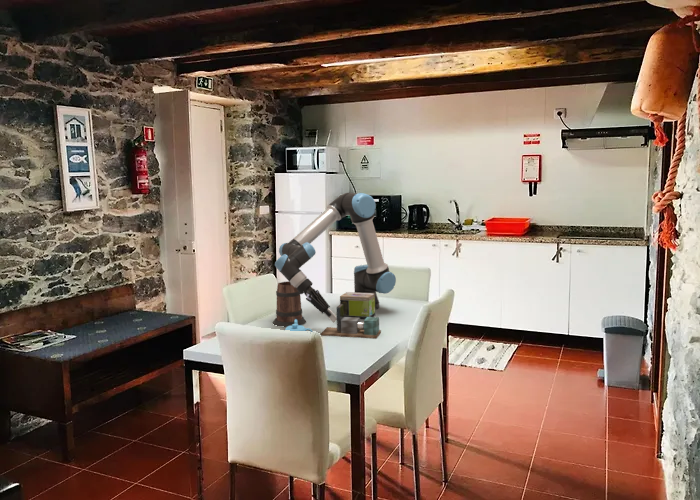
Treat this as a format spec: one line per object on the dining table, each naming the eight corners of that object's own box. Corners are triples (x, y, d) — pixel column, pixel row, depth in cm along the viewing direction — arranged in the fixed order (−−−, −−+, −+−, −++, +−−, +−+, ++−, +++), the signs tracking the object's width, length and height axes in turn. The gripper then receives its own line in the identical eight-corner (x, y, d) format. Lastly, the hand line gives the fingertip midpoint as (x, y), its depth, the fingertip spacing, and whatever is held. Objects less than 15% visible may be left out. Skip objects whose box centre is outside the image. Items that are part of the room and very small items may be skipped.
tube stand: (320, 335, 270) (320, 319, 269) (327, 329, 280) (326, 313, 279) (376, 338, 264) (376, 322, 263) (380, 332, 274) (380, 316, 272)
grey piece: (337, 330, 270) (336, 307, 269) (340, 327, 276) (340, 304, 274) (372, 332, 266) (372, 309, 264) (375, 328, 272) (375, 305, 270)
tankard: (307, 326, 286) (305, 285, 282) (271, 328, 284) (270, 287, 281) (305, 313, 309) (304, 276, 306) (273, 315, 307) (271, 277, 304)
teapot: (271, 350, 251) (270, 324, 249) (296, 342, 260) (295, 317, 259) (293, 358, 240) (292, 331, 238) (319, 350, 249) (318, 324, 248)
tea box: (375, 322, 291) (375, 292, 289) (369, 327, 281) (369, 297, 279) (346, 319, 296) (346, 291, 293) (340, 325, 286) (339, 295, 284)
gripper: (300, 285, 281) (334, 322, 280) (291, 291, 269) (326, 329, 267) (311, 275, 279) (345, 311, 278) (302, 280, 267) (337, 319, 265)
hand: (335, 320), depth 273 cm, fingers closed
